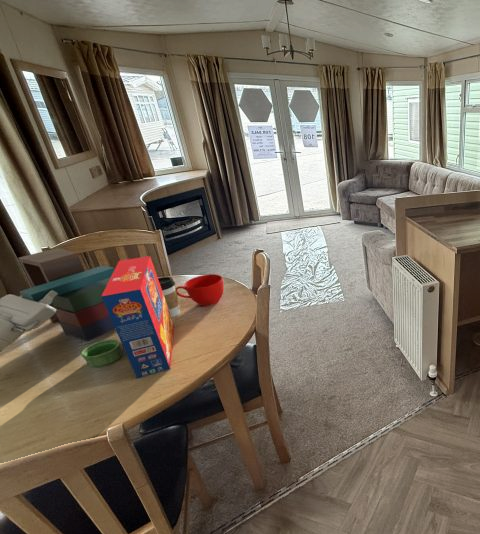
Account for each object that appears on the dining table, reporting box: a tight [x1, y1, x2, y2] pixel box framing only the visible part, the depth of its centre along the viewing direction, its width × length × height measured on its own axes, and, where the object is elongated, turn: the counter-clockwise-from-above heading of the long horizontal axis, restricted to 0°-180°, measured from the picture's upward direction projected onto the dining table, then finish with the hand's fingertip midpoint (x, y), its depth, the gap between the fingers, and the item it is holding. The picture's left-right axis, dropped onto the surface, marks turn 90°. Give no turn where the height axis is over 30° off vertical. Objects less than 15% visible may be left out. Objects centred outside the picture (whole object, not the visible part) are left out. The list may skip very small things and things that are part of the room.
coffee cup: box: [158, 276, 181, 319], centre depth 129 cm, size 8×8×15 cm
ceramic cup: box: [175, 273, 225, 307], centre depth 139 cm, size 13×17×10 cm
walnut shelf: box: [17, 248, 86, 324], centre depth 123 cm, size 12×10×26 cm
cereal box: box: [101, 255, 175, 379], centre depth 107 cm, size 28×8×28 cm, turn 33°
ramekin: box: [80, 339, 123, 368], centre depth 107 cm, size 9×9×4 cm
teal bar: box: [19, 265, 115, 302], centre depth 114 cm, size 6×22×3 cm, turn 162°
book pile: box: [52, 277, 116, 342], centre depth 121 cm, size 12×16×16 cm
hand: (46, 289), depth 108 cm, fingers closed on teal bar, 6 cm apart
